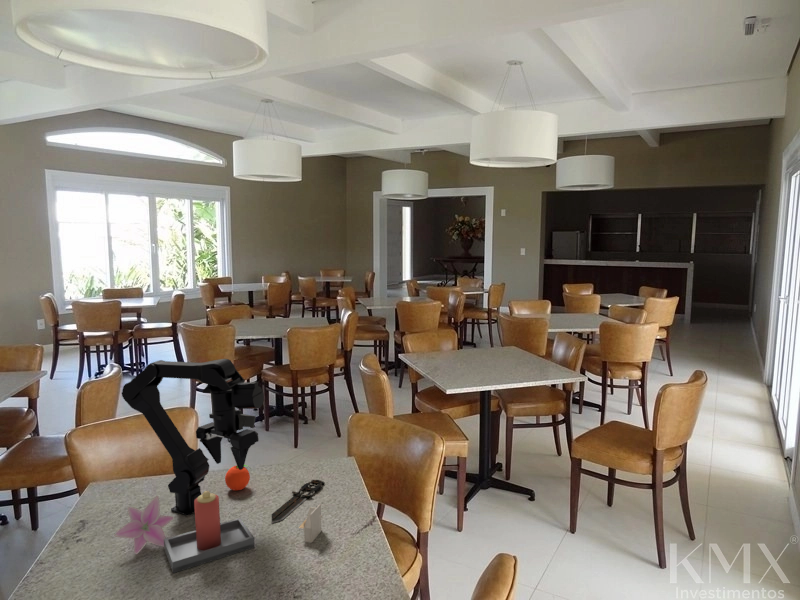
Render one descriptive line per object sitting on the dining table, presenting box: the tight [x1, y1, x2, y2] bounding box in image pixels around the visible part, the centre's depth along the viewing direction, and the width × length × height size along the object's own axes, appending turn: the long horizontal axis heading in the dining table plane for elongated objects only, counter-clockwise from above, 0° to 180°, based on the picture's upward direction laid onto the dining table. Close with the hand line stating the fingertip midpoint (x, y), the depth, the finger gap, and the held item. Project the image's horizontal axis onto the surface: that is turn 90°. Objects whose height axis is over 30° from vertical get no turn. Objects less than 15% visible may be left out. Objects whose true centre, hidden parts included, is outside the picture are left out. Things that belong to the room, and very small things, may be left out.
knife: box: [270, 479, 326, 524], centre depth 150 cm, size 25×6×1 cm, turn 154°
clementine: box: [224, 464, 252, 492], centre depth 158 cm, size 8×7×7 cm
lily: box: [113, 495, 175, 555], centre depth 130 cm, size 12×12×10 cm
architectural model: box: [298, 503, 323, 544], centre depth 133 cm, size 3×7×7 cm, turn 164°
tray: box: [163, 517, 255, 574], centre depth 128 cm, size 11×18×2 cm, turn 123°
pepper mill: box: [194, 490, 221, 551], centre depth 127 cm, size 5×5×13 cm
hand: (229, 466), depth 143 cm, fingers open, 9 cm apart
